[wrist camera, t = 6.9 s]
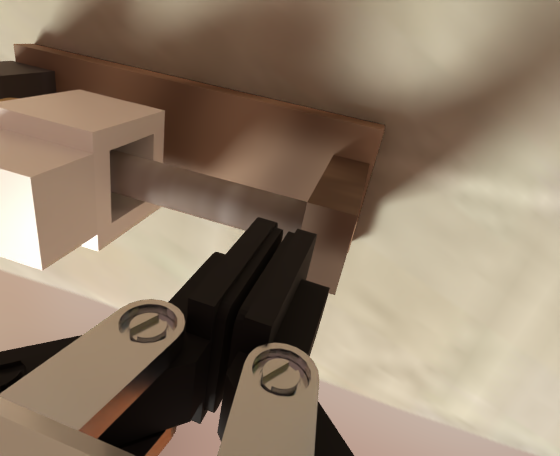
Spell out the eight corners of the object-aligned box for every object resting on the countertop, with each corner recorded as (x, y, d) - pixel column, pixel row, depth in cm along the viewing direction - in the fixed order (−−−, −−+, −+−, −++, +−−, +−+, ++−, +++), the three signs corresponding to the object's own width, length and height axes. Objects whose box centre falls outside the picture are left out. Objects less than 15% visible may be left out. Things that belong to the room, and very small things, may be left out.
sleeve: (164, 110, 16) (26, 151, 10) (161, 206, 18) (44, 289, 12) (79, 89, 17) (-99, 116, 11) (85, 185, 19) (-62, 253, 13)
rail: (385, 125, 17) (378, 174, 11) (350, 242, 20) (329, 335, 14) (30, 43, 20) (-140, 44, 14) (42, 155, 23) (-94, 200, 17)
